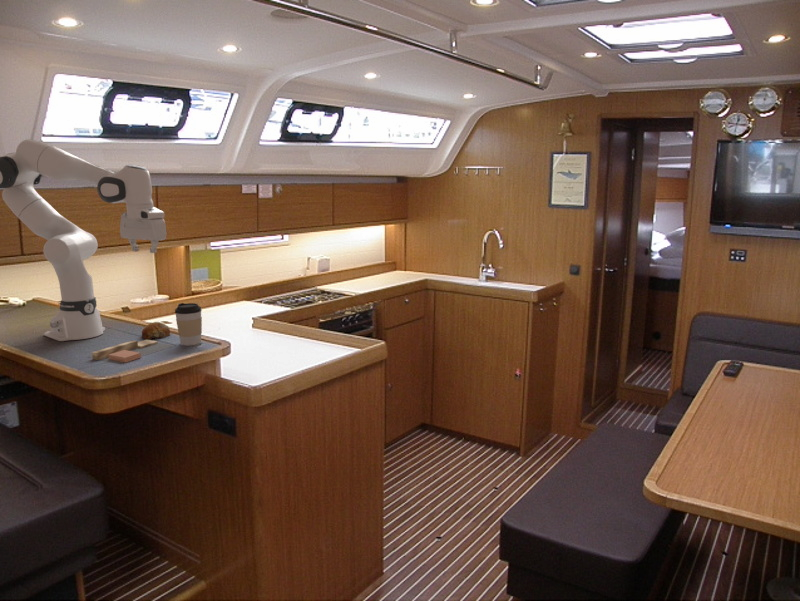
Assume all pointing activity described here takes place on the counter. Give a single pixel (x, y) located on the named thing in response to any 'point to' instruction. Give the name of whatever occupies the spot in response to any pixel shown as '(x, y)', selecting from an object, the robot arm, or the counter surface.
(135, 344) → the spatula
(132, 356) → the tile
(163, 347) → the mat
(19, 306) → the counter surface
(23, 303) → the counter surface
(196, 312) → the coffee cup
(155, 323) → the bread roll
